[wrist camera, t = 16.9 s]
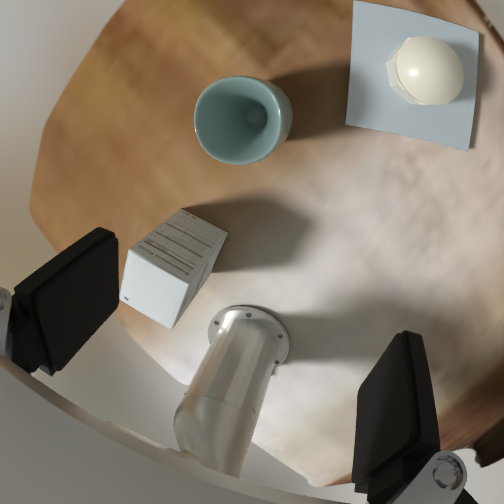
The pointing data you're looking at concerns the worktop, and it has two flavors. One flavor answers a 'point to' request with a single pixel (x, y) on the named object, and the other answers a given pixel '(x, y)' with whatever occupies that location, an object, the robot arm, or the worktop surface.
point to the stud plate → (378, 85)
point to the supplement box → (170, 266)
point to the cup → (242, 119)
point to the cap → (425, 71)
